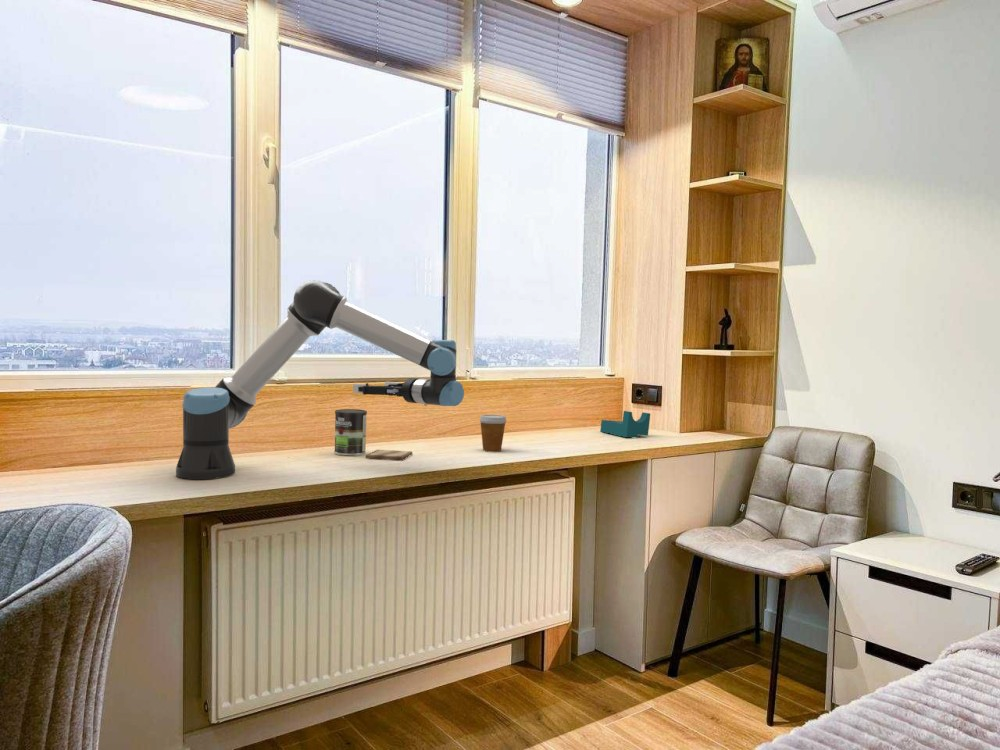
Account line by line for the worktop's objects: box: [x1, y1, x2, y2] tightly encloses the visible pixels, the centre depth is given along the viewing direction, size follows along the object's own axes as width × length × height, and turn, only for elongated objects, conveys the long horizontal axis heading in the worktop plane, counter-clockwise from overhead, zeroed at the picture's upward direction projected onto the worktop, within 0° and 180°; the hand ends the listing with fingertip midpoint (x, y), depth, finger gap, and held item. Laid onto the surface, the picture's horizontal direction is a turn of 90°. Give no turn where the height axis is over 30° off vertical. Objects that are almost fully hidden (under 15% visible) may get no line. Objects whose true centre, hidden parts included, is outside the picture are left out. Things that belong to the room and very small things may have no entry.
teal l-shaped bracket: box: [599, 410, 651, 438], centre depth 309 cm, size 18×11×10 cm, turn 28°
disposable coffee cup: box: [478, 414, 508, 452], centre depth 260 cm, size 10×10×12 cm
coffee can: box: [334, 408, 368, 456], centre depth 245 cm, size 10×10×14 cm
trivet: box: [365, 449, 413, 461], centre depth 242 cm, size 12×12×1 cm
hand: (370, 386), depth 239 cm, fingers open, 13 cm apart
